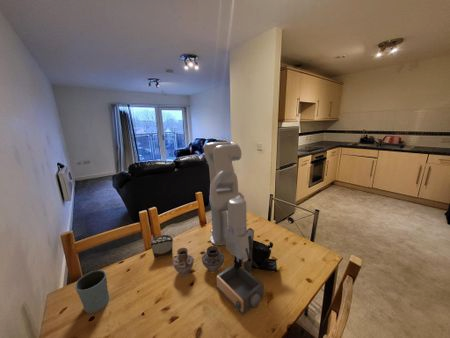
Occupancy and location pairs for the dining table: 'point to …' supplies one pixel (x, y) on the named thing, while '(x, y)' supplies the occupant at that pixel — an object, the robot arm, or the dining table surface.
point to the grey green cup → (93, 291)
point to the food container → (162, 246)
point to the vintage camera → (259, 255)
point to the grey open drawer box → (243, 286)
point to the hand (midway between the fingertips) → (238, 267)
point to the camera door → (230, 294)
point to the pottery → (210, 260)
